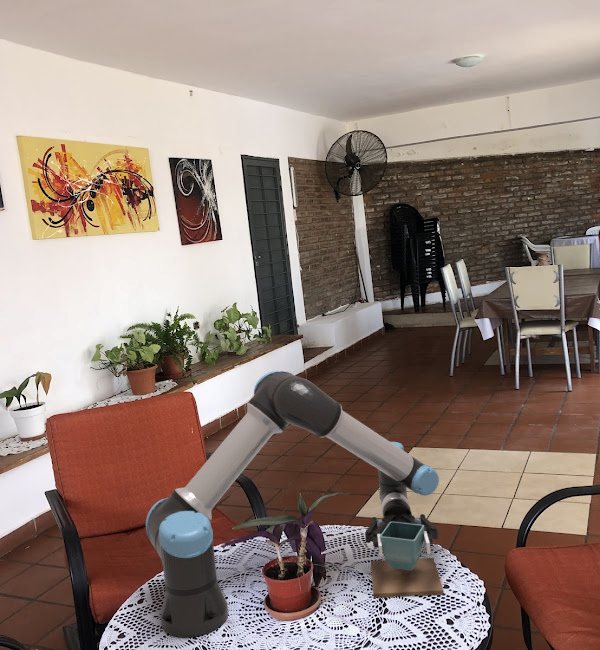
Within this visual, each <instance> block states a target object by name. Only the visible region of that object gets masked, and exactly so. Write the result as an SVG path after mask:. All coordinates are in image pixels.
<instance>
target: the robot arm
mask: <svg viewBox="0 0 600 650" xmlns="http://www.w3.org/2000/svg"><path fill="white" fill-rule="evenodd" d="M289 424H290V425H292V426H295V427H298V428H300V429H303V430H305V431H307V432H310V433H311V434H313V435H315V436H317V437H318V438H322V439H323V438H327V439H329V440H331V442H334V443H336V444H337V445H338V446H340V447H342V448H343V449H346V450H347V451H348V452H350V453H352V454H353V455H355V456H356V457H357V458H359V459H361V460H363V461H364V462H366V463H367V464H369V465H371V466H373V467H374V468H376V469H377V471H378V480H379V482H378V484H379V487H378V488H379V500H380V505H381V509H382V511H381V512H382V519H380V518H379V519H378V518H377V517H375V516H373V517H371V522H370V524H369V525H368V527H367V529H366V531H365V532H364V535H365V538H364V539H365V543H366V544H369V543H371V542H372V545H373V546H372V547H373V549H376V548H377V549H378V555H379V557H381V558H382V557H384V554H383V550H382V543H381V540H380V535H381V534H382V532H383V531H384V530H385V528H386V527H387V525H388V524H389V522H401V523H410V524H420V525H424V542H423V545H424V547H425V551H426V555H430V554H431V545H434V542H433V541H434V540H438V539H439V529H438V527H436V526H435V525H434V524H433V522H431V521H430V520H429V519H428V518H427V517H426V515H425V514H422V513H421V514H420V515H419V516H418V517H416V516H414V515H413V514H412V510H411V506H410V501H409V499H408V490H407V489H409V490H410V491H412V492H414V493H415V494H418V495H421V496H425V497H426V496H430V495H432V494H433V493H434V492H435V491H436V489H437V488H438V485H439V481H440V479H439V478H440V477H439V474H438V472H437V471H436V470H435V469H434V468H433V467H431V466H430V465H428V464H425V463H422V462H421V461H420V460H418V459H417V458H415V457H413V456H412V455H411V454H409V453H408V452H406V451H405V450H404V449H405V448H404V445H403V444H402V443H400V442H397V441H389V440H388V439H386V438H385V437H384V436H382V435H380V434H379V433H377V432H375V430H373V429H371V428H369V426H367V425H365V424H364V423H362V422H361V421H359V420H358V419H357V418H354V417H353V416H352V415H350V414H349V413H347V412H346V411H344V410H343V407H342V404H341V403H339V402H338V401H336V400H335V399H333V398H332V397H331V396H329V395H328V394H327V393H326V392H325V391H323V390H322V389H320V388H319V387H318V386H317V385H316V384H314V383H313V382H312V381H310V380H308V379H306V378H303V377H300V376H297V375H294V374H293V373H291V372H289V371H283V370H274V371H273V370H272V371H269V372H267V373H264V375H262V376H261V377H260V378H259V379H258V380H257V382H256V383H255V386H254V389H253V396H252V397H251V398H250V399H249V401H248V402H247V403H246V414H245V415H244V416H243V417H242V418H241V420H240V421H239V422H238V423H237V424H236V426H235V427H234V428H233V429H232V430H231V432H230V433H229V434H228V435H227V437H226V438H224V440H223V441H222V442H221V444H220V445H219V446H218V447H217V448H216V449H215V451H214V452H213V453H212V454H211V455H210V457H209V458H208V459H207V460H206V461H205V462H204V464H203V465H202V466H201V467H200V469H198V471H197V472H196V473H195V475H194V476H193V477H192V478H191V479H190V480H189V482H188V483H187V484H186V486H184V487H179V488H175V489H174V490H173V492H172V493H171V494H170V495H169V496H168V497H166V498H162V499H160V500H158V501H157V502H156V503H154V504H153V505H152V506H151V508H150V509H149V511H148V513H147V515H146V519H145V530H146V534H147V538H148V540H149V541H150V543H151V545H152V546H153V547H154V550H155V551H156V552H157V554H158V556H159V557H160V560H161V562H162V569H163V578H164V587H165V593H164V598H163V603H162V607H161V611H160V620H161V621H160V622H161V628H162V629H163V630H164V632H165V633H167V634H168V635H171V636H174V637H180V638H193V637H199V636H203V635H206V634H208V633H210V632H213V631H215V630H217V629H218V628H220V626H222V625H224V623H225V622H226V621H227V619H228V618H229V617H228V616H229V608H228V602H227V599H226V597H225V595H224V593H223V591H222V589H221V587H220V584H219V583H218V578H217V577H218V576H217V567H216V558H215V550H214V534H213V532H214V531H213V528H212V525H211V521H212V519H213V517H212V511H213V509H214V508H215V506H216V504H217V503H218V502H219V501H220V500H221V499H222V497H223V496H224V495H225V494H226V492H227V491H228V490H229V488H231V486H232V485H233V484H234V482H235V481H236V480H237V479H238V477H239V476H240V475H241V474H242V473H243V471H245V469H246V468H247V466H248V465H249V464H250V463H251V461H253V459H254V458H255V457H256V456H257V454H258V453H259V452H260V451H261V450H262V448H263V447H264V446H265V445H266V443H267V442H268V441H269V440H270V438H271V437H272V436H273V435H274V434H282V433H283V431H284V430H286V428H287V427H288V426H289Z"/></svg>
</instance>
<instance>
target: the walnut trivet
mask: <svg viewBox="0 0 600 650" xmlns="http://www.w3.org/2000/svg"><path fill="white" fill-rule="evenodd" d="M370 568H371V569H370V570H371V583H372V591H373V592H372V594H373V599H377V597H382V598H397V597H396V596H402V597H412V596H411V595H422V596H436V595H437V596H438V595H444V589H443V585H442V582H441V579H440V578H441V577H440V574H439V571H438V568H437V564H436V560H435V558H434V557H419V559H418V561H417V563H416V565H415V567H414V568H413V570H412V571H409V570H402V569H395V568H392V567H391V566H390V565H389V564H388V562H387V561H386V559H385V560H370ZM394 596H395V597H394ZM375 597H376V598H375Z"/></svg>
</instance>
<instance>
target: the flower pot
mask: <svg viewBox="0 0 600 650" xmlns="http://www.w3.org/2000/svg"><path fill="white" fill-rule="evenodd" d="M380 540H381V543H382V553H383V557H384V558H385V560H386V561H387V562H388V564H389V565H390V566H391V567H392V568H395V569H402V570H409V571H412V570H413V568H414V567H415V565H416V563H417V561H418V559H419V558H421V556H422V555H421V554H422V552H423V549H424V525H420V524H410V523H401V522H389V524H388V525H387V527H386V528H385V530H384V531H383V532H382V534H381V535H380Z"/></svg>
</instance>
